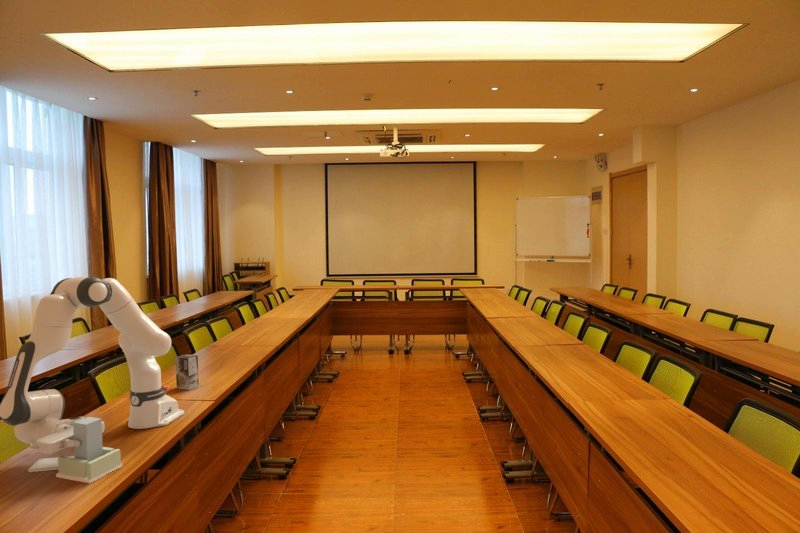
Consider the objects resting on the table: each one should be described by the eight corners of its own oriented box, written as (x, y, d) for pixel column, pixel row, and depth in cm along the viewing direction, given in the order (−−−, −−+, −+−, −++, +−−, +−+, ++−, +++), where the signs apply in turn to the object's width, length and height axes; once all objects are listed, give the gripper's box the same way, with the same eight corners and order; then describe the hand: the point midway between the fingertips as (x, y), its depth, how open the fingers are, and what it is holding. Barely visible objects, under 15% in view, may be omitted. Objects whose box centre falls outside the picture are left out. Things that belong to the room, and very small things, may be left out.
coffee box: (199, 386, 256) (198, 355, 255) (189, 390, 250) (188, 358, 249) (186, 384, 260) (185, 353, 259) (175, 388, 254) (174, 356, 253)
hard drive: (80, 454, 174) (40, 457, 171) (70, 465, 166) (27, 468, 163) (81, 459, 174) (40, 462, 171) (70, 470, 166) (28, 473, 163)
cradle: (89, 460, 171) (89, 443, 171) (122, 466, 167) (121, 448, 166) (56, 477, 160) (55, 458, 159) (89, 483, 155) (88, 464, 155)
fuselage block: (90, 458, 166) (88, 416, 166) (103, 460, 165) (101, 418, 164) (74, 465, 161) (73, 422, 161) (87, 468, 160) (86, 424, 159)
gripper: (25, 436, 157) (58, 441, 152) (85, 414, 176) (116, 418, 172) (26, 456, 157) (59, 462, 153) (86, 432, 176) (116, 437, 172)
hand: (90, 439), depth 162 cm, fingers closed on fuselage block, 5 cm apart
